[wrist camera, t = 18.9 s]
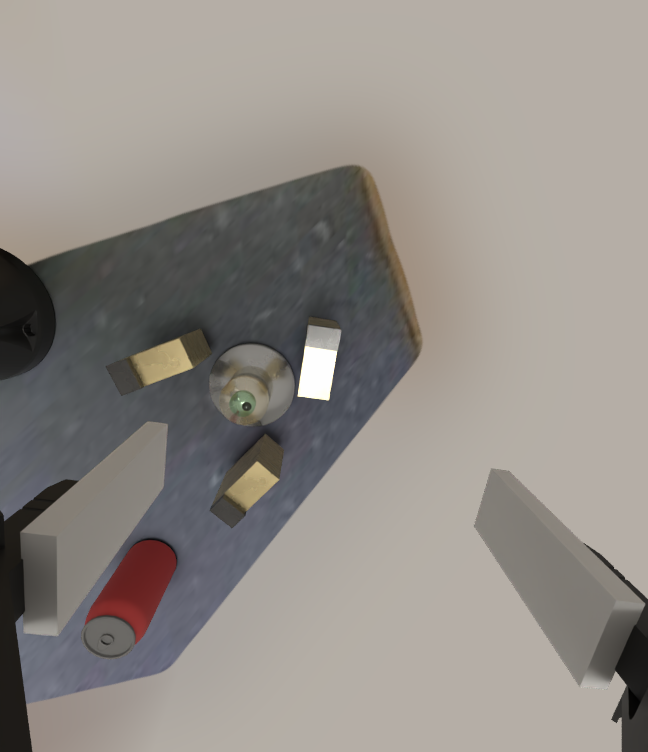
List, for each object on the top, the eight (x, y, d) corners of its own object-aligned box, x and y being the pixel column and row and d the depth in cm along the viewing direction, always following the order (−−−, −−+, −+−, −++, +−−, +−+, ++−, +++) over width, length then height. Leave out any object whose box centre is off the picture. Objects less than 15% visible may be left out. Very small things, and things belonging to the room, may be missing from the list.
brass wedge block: (265, 433, 45) (256, 465, 37) (283, 449, 46) (278, 483, 38) (226, 472, 46) (209, 510, 38) (245, 487, 47) (232, 528, 39)
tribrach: (172, 345, 44) (142, 360, 36) (284, 275, 43) (278, 274, 35) (255, 462, 48) (244, 498, 41) (361, 402, 47) (371, 427, 39)
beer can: (119, 562, 52) (63, 645, 40) (144, 528, 50) (94, 603, 39) (162, 586, 53) (119, 673, 41) (187, 553, 51) (151, 633, 40)
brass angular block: (326, 381, 44) (328, 402, 36) (300, 377, 43) (297, 398, 36) (335, 320, 42) (341, 330, 34) (309, 316, 42) (308, 324, 34)
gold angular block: (200, 328, 42) (176, 339, 34) (212, 353, 42) (190, 370, 35) (142, 350, 42) (105, 366, 35) (154, 375, 43) (121, 395, 35)
